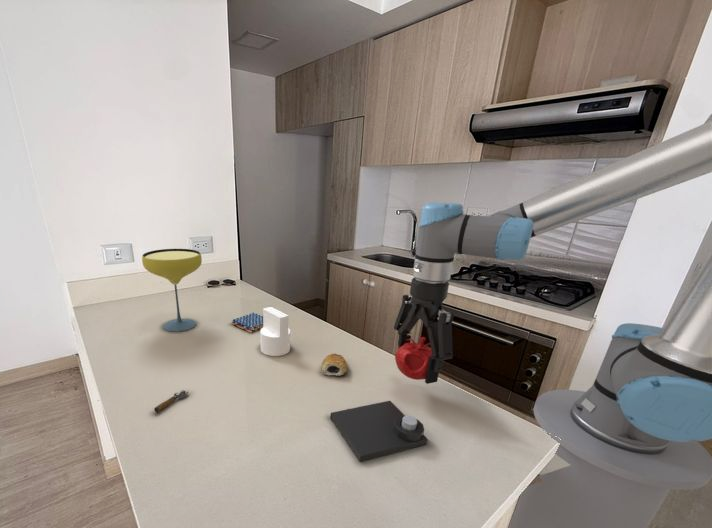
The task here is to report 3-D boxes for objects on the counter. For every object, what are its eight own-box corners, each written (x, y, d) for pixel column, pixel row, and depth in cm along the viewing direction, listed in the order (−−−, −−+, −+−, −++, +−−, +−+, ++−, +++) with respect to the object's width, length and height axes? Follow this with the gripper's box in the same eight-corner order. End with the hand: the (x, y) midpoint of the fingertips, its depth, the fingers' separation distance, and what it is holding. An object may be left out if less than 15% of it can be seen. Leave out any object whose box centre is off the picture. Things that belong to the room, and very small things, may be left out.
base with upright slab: (254, 347, 104) (254, 310, 100) (278, 339, 110) (278, 304, 105) (271, 358, 98) (271, 320, 93) (296, 350, 103) (297, 313, 99)
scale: (390, 405, 79) (392, 394, 78) (428, 444, 68) (430, 431, 66) (330, 417, 74) (331, 406, 73) (359, 461, 63) (361, 449, 62)
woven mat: (230, 324, 120) (229, 319, 119) (252, 316, 127) (252, 311, 126) (249, 333, 113) (249, 327, 113) (272, 324, 121) (272, 319, 120)
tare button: (410, 420, 70) (411, 414, 69) (418, 429, 68) (420, 423, 67) (398, 423, 69) (399, 417, 69) (407, 432, 67) (408, 426, 66)
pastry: (324, 358, 99) (325, 346, 97) (347, 361, 98) (349, 349, 96) (320, 375, 90) (321, 362, 89) (345, 378, 89) (347, 366, 88)
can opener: (157, 413, 74) (156, 409, 74) (151, 409, 75) (150, 404, 75) (190, 394, 81) (190, 390, 81) (184, 390, 82) (184, 386, 82)
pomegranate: (387, 363, 85) (392, 329, 82) (426, 362, 86) (432, 328, 82) (402, 385, 76) (407, 347, 73) (445, 383, 77) (453, 346, 73)
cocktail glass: (156, 317, 125) (147, 248, 115) (207, 314, 128) (202, 248, 119) (147, 338, 108) (135, 260, 99) (205, 334, 112) (199, 259, 102)
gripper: (385, 268, 81) (376, 351, 89) (455, 296, 61) (435, 400, 70) (411, 266, 84) (400, 347, 92) (487, 292, 64) (464, 393, 72)
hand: (415, 370), depth 81 cm, fingers closed on pomegranate, 10 cm apart
